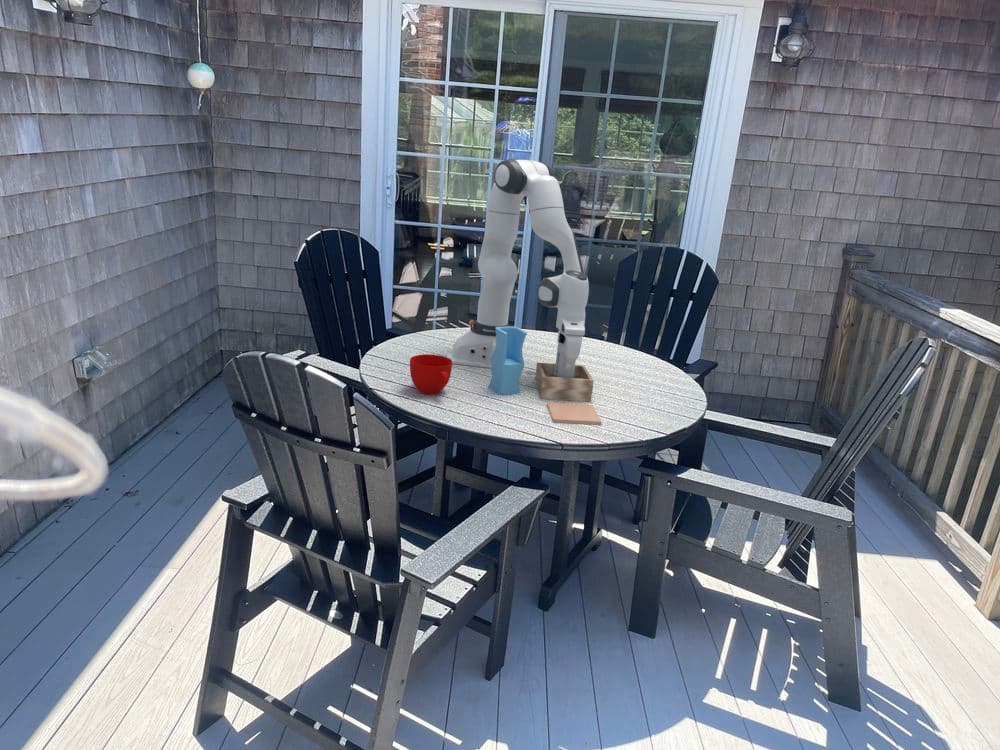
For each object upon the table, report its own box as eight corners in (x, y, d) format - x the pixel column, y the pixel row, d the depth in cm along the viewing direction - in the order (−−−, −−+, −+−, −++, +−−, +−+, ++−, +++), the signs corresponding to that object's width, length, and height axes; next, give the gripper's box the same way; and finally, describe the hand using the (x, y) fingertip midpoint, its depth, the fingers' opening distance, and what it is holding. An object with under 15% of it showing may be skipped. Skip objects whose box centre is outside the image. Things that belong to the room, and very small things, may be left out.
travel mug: (571, 389, 238) (579, 330, 233) (571, 395, 232) (579, 335, 226) (552, 387, 239) (559, 328, 233) (552, 393, 233) (559, 333, 227)
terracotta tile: (553, 422, 208) (553, 419, 208) (546, 405, 222) (547, 402, 221) (601, 425, 210) (601, 421, 209) (591, 408, 223) (592, 404, 223)
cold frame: (540, 398, 227) (543, 377, 225) (534, 382, 242) (536, 362, 240) (590, 401, 229) (593, 380, 227) (581, 385, 244) (584, 365, 242)
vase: (499, 395, 227) (505, 333, 221) (488, 387, 233) (493, 326, 227) (521, 393, 230) (527, 332, 224) (509, 385, 237) (515, 326, 231)
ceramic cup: (425, 404, 213) (427, 372, 210) (401, 386, 226) (402, 355, 223) (464, 400, 219) (466, 368, 216) (438, 382, 233) (440, 352, 230)
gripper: (555, 314, 238) (551, 355, 242) (565, 330, 219) (560, 373, 223) (574, 316, 239) (569, 356, 243) (586, 331, 219) (580, 375, 223)
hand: (565, 364), depth 233 cm, fingers closed on travel mug, 6 cm apart
